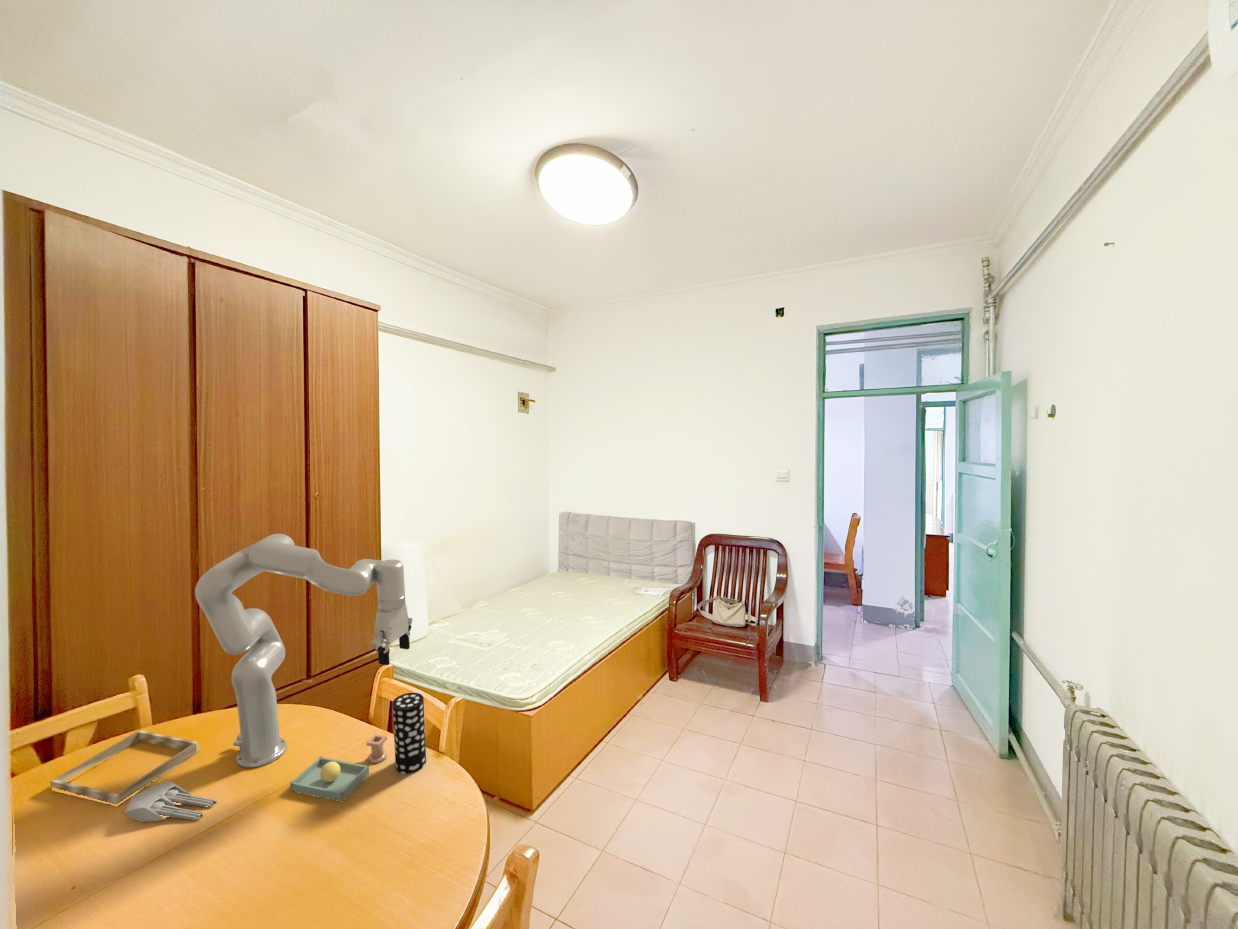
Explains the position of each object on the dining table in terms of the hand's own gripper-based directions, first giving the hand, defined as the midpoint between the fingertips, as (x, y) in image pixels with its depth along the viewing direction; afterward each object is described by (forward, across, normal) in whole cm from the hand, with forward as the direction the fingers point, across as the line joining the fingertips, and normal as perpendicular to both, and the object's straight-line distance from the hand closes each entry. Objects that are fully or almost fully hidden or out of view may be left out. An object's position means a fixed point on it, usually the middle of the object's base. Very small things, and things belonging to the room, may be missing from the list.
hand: (394, 656), depth 169 cm
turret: (+28, +39, -40) cm, 63 cm away
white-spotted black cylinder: (+28, +8, +9) cm, 31 cm away
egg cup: (+28, +8, -2) cm, 29 cm away
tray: (+28, +20, -8) cm, 35 cm away
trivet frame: (+28, +31, -65) cm, 77 cm away
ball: (+27, +20, -7) cm, 35 cm away
